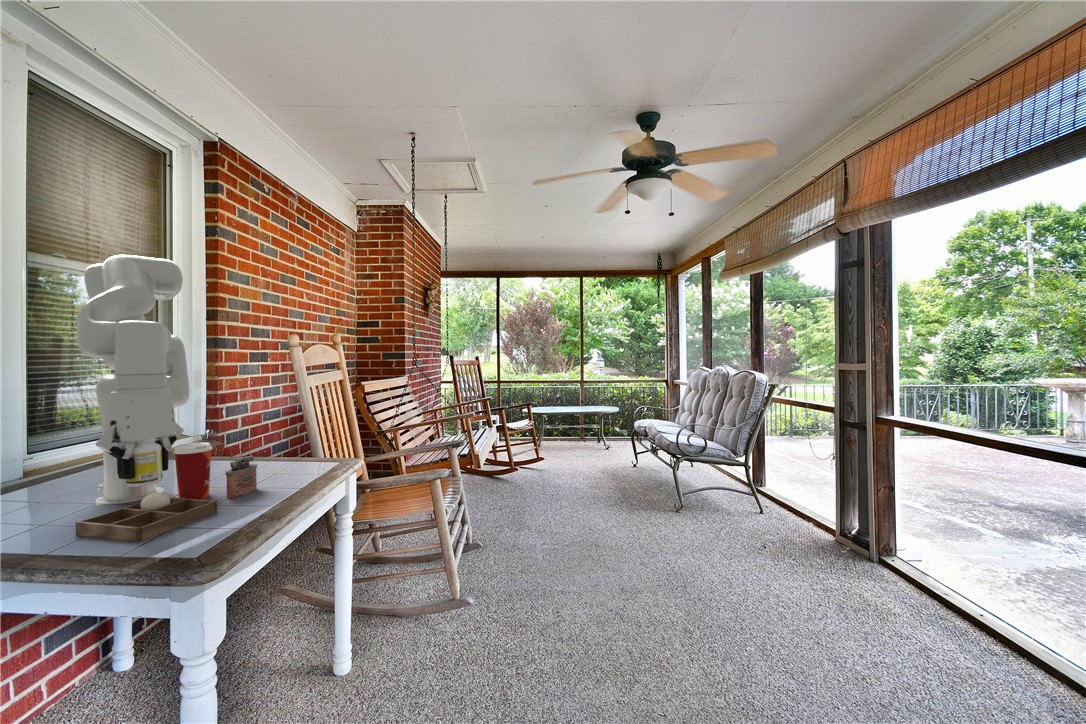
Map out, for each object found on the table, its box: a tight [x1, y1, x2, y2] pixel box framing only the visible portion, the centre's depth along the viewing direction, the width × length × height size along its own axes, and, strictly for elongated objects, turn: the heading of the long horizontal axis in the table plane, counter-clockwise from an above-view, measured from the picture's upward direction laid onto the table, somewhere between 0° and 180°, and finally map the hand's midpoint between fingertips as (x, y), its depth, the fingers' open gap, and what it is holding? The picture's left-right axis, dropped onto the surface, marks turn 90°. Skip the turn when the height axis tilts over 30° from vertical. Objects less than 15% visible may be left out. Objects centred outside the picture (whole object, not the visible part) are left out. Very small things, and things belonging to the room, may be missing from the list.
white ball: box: [140, 492, 171, 510], centre depth 97 cm, size 5×5×5 cm
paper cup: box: [172, 441, 214, 500], centre depth 109 cm, size 8×8×14 cm
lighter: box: [225, 455, 258, 499], centre depth 112 cm, size 8×3×10 cm, turn 168°
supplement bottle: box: [126, 438, 164, 487], centre depth 88 cm, size 5×5×10 cm
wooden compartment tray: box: [75, 496, 218, 543], centre depth 93 cm, size 16×16×4 cm
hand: (144, 473), depth 88 cm, fingers closed on supplement bottle, 5 cm apart
